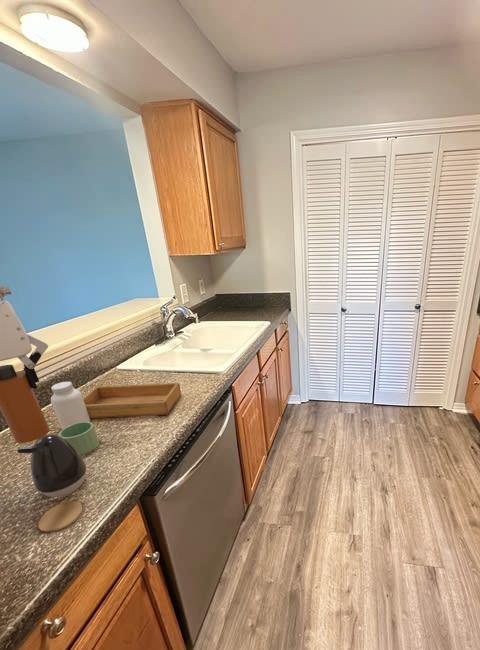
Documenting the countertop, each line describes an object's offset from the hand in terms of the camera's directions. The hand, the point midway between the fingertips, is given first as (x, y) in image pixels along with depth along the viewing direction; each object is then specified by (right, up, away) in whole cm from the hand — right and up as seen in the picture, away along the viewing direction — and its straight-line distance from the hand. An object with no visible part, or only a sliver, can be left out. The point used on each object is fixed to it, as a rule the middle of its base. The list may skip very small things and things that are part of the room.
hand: (13, 391), depth 62 cm
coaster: (+3, -28, +9) cm, 30 cm away
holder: (-8, -19, +32) cm, 38 cm away
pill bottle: (-18, -15, +43) cm, 49 cm away
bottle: (0, -9, +4) cm, 10 cm away
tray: (-5, -10, +53) cm, 54 cm away
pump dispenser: (-2, -25, +17) cm, 30 cm away
